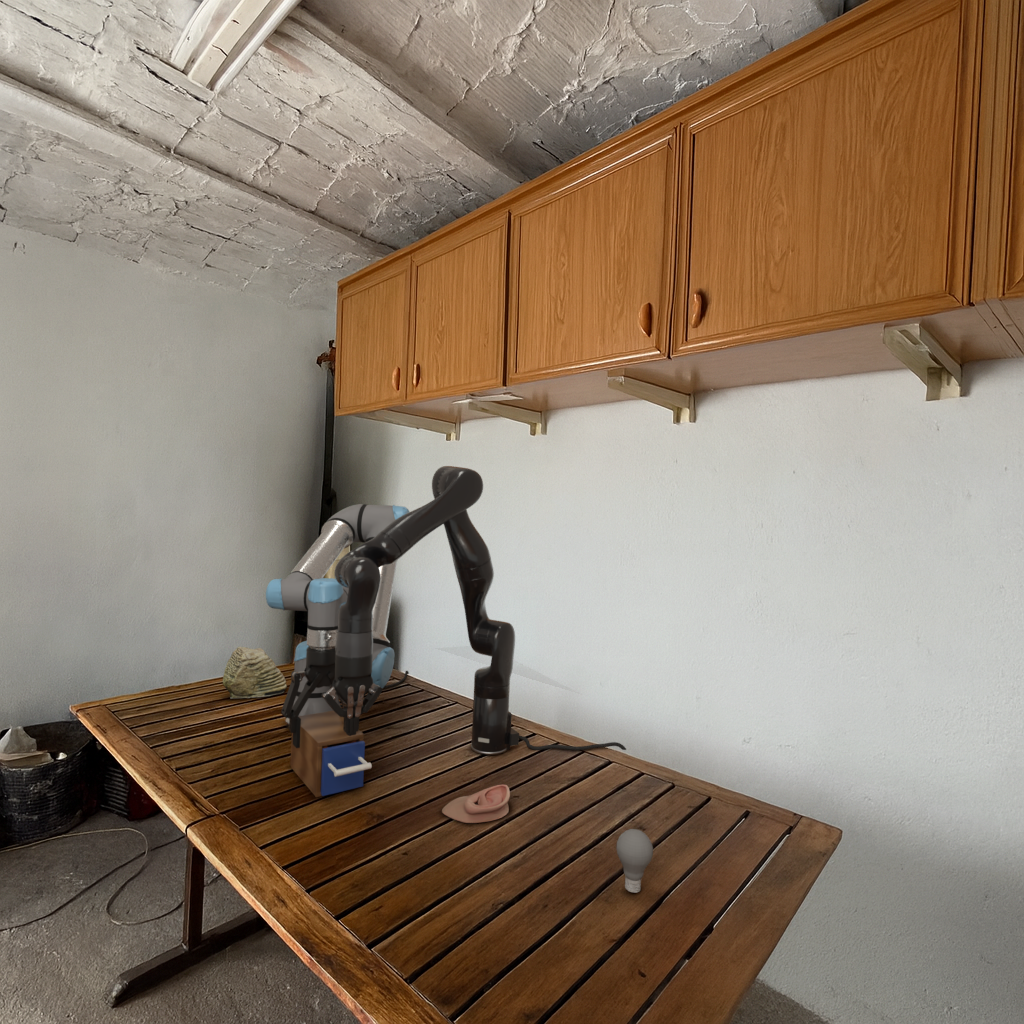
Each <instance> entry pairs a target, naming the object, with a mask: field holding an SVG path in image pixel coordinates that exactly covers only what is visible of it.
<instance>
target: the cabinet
mask: <svg viewBox="0 0 1024 1024" xmlns="http://www.w3.org/2000/svg"><path fill="white" fill-rule="evenodd" d="M298 717H299V718H300V719H301V727H300V748H296V747H295V746H294V745H293V733H291V741H290V766H289V767H290V768H291V769H292V770H293V772H294V773H295V775H297V776H298V778H299V779H300V780H301V781H302V783H303V784H304V785H305V786H306V787H307V789H308V790H309V791H310V792H311V793H312V795H313V796H314V797H315V798H320V797H323V796H322V795H321V764H322V746H327V745H332V744H337V743H342V742H347V741H352V740H356V742H359V741H364V738H365V734H364V733H363V732H362V731H361V730H358V731H357V732H356V735H351V736H348V735H347V734H346V733H345V732H344V730H343V727H344V726H343V725H344V718H343V717H340V716H339V715H338V714H336V713H335V712H334V711H328V712H322V713H316V714H310V715H304V716H298Z"/></svg>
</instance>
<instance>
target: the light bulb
mask: <svg viewBox="0 0 1024 1024" xmlns="http://www.w3.org/2000/svg"><path fill="white" fill-rule="evenodd" d="M615 849H616V854H617V857H618V859H619V861H620V863H621V865H622V867H623V873H624V874H623V875H624V876H625V878H624V888H625V890H627V891H628V892H630V893H634V894H635V893H639V892H640V891H641V889H642V887H641V886H642V879H643V877H644V875H645V871H646V868H647V867H648V866H649V864H650V863H651V861H652V859H653V855H654V847H653V843H652V841H651V838H649V836H648V835H647V834H646V833H645V832H643V831H642V830H641V829H636V828H629V829H627V830H625V831H623V832H622V833H621V834H620V835H619V837H618V839H617V841H616V847H615Z"/></svg>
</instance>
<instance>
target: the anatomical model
mask: <svg viewBox="0 0 1024 1024" xmlns="http://www.w3.org/2000/svg"><path fill="white" fill-rule="evenodd" d="M510 798H511V791H510V788H509V786H508V785H507V784H497V785H493V786H490V787H487V788H484V789H481V790H480V791H477V792H475V793H473V794H470V795H463V796H460V797H457V798H454V799H453V800H451V801H449V802H448V803H447V804H445V806H443V808H442V810H441V813H442V814H443V815H444V816H446V817H448V818H450V819H452V820H455V821H458V822H460V823H464V824H477V823H485V822H492V821H495V820H499V819H502V818H503V817H505V816H507V815H508V814H509V810H510V807H509V801H510Z"/></svg>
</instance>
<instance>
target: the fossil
mask: <svg viewBox="0 0 1024 1024" xmlns="http://www.w3.org/2000/svg"><path fill="white" fill-rule="evenodd" d="M222 676H223V677H222V685H223V687H224V688H225V690H226V691H228V693H229V698H230V699H250V698H264V697H271V696H275V695H281V694H284V693H285V691H286V689H287V687H288V686H287V680H286V678H285V676H284V674H283V673H282V672H281V669H279V668H278V667H277V665H276V663H275V662H274V660H273V659H272V658H271V657H270V656H269V655H268V654H267V653H266V652H265V650H264V649H263V648H260V647H258V648H251V647H247V646H246V647H245V646H238V647H237V648H236V649H235V650H233V651H232V653H231V656H230V657H229V659H228V660H227V663H226V666H225V668H224V671H223V675H222Z"/></svg>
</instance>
